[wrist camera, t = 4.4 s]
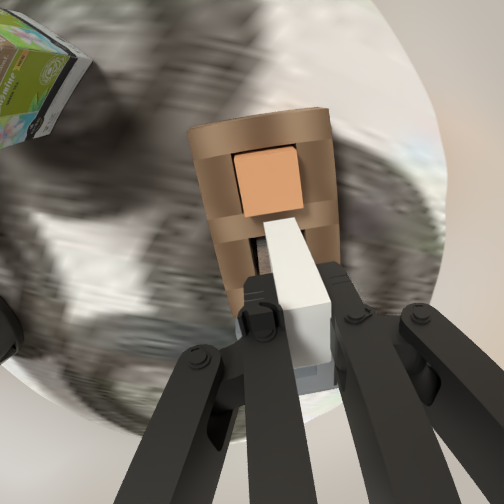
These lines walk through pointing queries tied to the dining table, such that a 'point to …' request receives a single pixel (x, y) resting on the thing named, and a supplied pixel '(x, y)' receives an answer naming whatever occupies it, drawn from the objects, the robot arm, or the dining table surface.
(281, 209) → the plunger
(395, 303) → the dining table surface
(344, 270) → the robot arm
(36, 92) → the tea box
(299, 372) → the block
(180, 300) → the dining table surface
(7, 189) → the dining table surface
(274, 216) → the socket block
